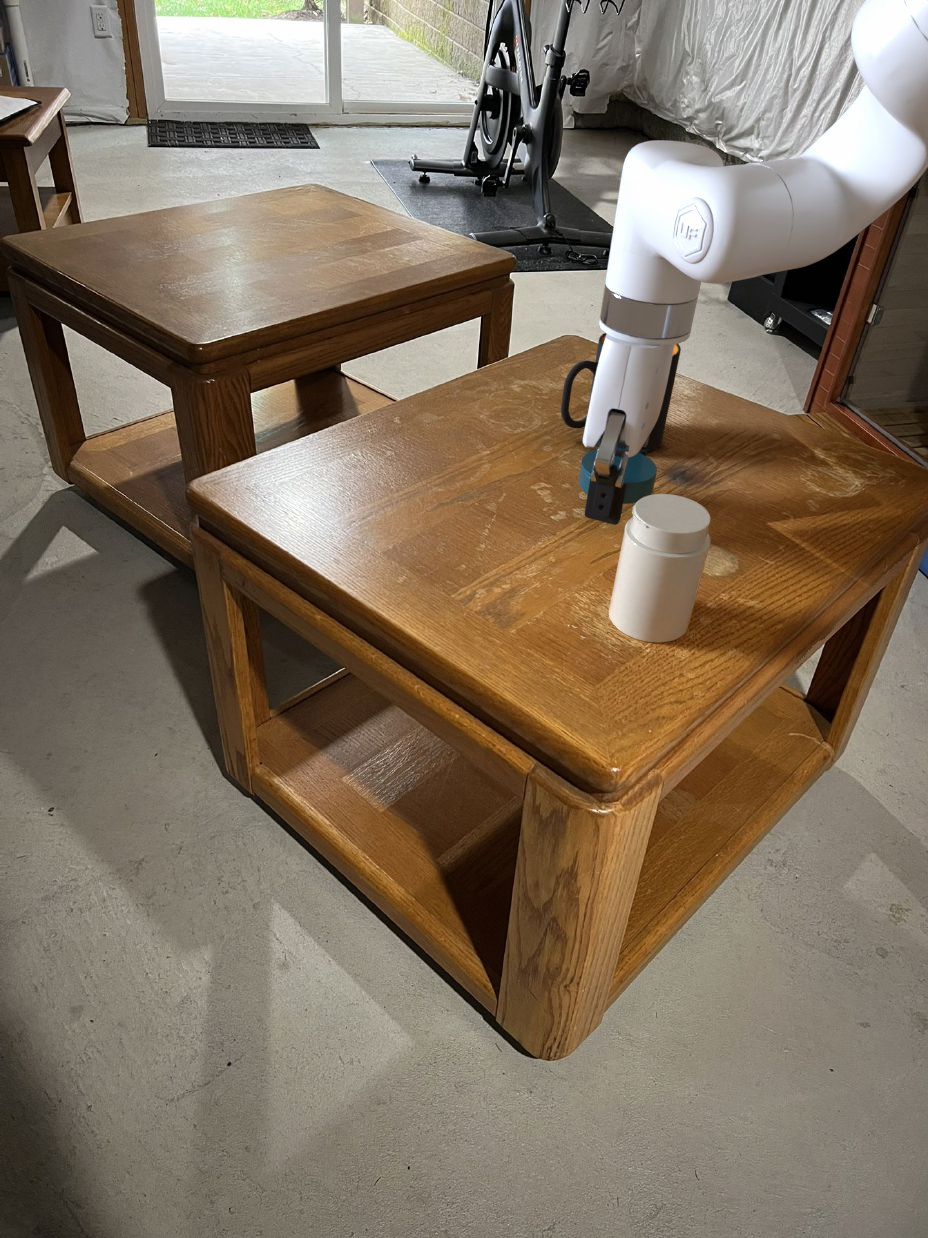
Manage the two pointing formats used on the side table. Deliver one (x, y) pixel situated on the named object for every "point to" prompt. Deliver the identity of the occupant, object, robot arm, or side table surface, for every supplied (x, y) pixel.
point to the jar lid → (636, 477)
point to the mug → (657, 430)
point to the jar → (660, 568)
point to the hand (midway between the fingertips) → (613, 499)
